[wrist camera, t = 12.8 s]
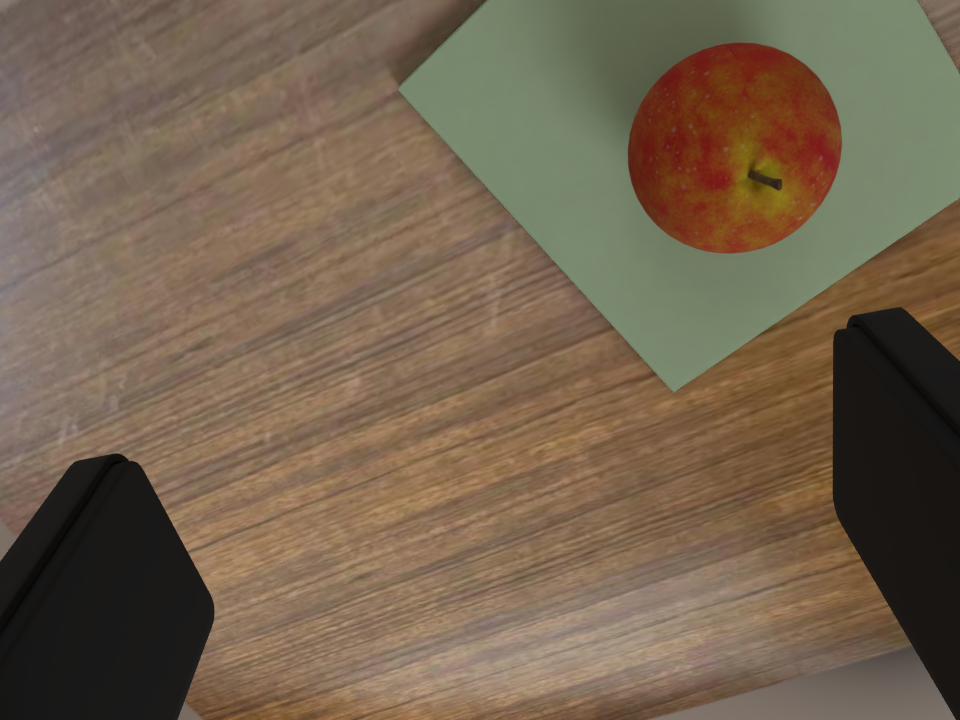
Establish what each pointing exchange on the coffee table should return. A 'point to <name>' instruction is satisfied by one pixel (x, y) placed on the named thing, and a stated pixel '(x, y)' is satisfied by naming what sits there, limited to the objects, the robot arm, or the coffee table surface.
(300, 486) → the coffee table surface
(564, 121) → the mat
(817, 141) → the fruit
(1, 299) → the coffee table surface
